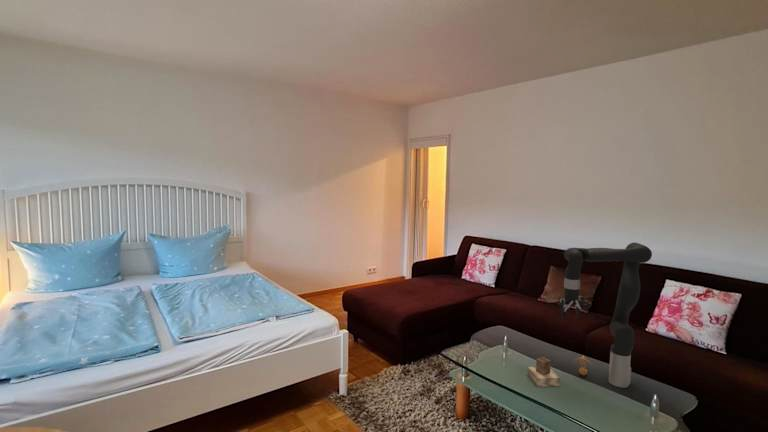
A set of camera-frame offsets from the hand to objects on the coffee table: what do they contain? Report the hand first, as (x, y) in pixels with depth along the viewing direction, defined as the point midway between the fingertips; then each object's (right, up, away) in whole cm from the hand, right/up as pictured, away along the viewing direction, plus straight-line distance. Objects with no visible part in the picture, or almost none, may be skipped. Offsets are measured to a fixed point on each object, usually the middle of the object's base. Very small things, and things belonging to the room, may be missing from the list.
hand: (570, 316), depth 206 cm
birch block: (-12, -36, +5) cm, 39 cm away
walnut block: (-13, -31, +5) cm, 34 cm away
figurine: (+11, -35, +10) cm, 38 cm away
